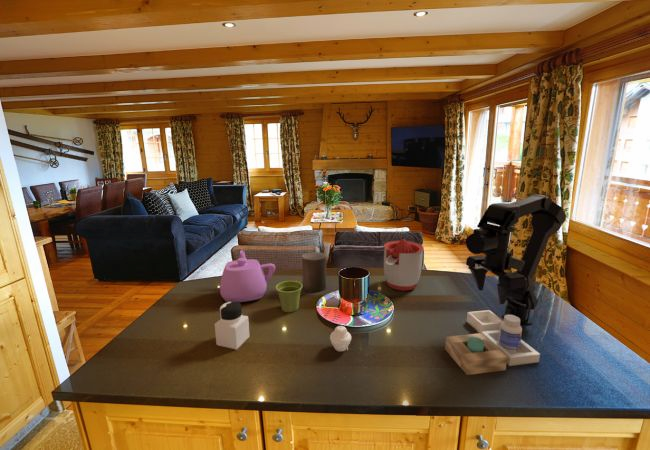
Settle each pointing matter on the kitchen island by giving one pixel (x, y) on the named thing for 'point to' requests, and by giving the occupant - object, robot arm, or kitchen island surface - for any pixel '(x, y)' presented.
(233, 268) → the teapot
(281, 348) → the kitchen island surface
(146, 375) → the kitchen island surface
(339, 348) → the white rounded piece
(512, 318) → the pill bottle
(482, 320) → the white tray box
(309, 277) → the pillar candle
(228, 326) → the medicine bottle
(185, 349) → the kitchen island surface
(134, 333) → the kitchen island surface
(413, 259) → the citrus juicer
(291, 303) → the plant pot
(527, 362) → the shallow white tray
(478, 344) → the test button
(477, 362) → the square wooden tray
